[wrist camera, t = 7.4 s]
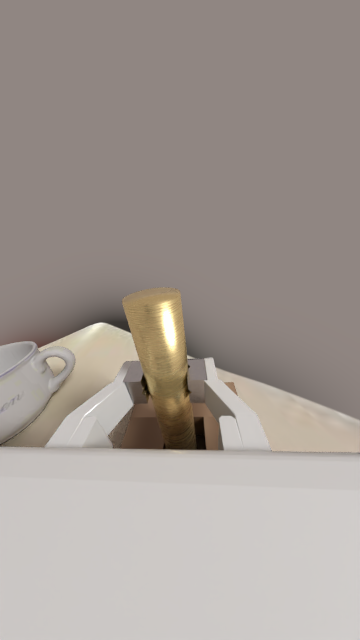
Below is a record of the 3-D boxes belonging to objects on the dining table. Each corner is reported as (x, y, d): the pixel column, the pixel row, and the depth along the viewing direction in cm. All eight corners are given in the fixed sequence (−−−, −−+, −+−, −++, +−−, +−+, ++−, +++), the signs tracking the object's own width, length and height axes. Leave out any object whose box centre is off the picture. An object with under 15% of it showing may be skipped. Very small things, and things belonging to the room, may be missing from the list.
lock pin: (165, 467, 11) (110, 308, 5) (169, 431, 13) (133, 289, 7) (197, 468, 11) (178, 303, 5) (196, 431, 13) (181, 285, 7)
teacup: (-105, 497, 12) (-236, 454, 9) (3, 390, 22) (-39, 348, 18) (69, 446, 14) (19, 393, 11) (99, 368, 24) (78, 326, 20)
